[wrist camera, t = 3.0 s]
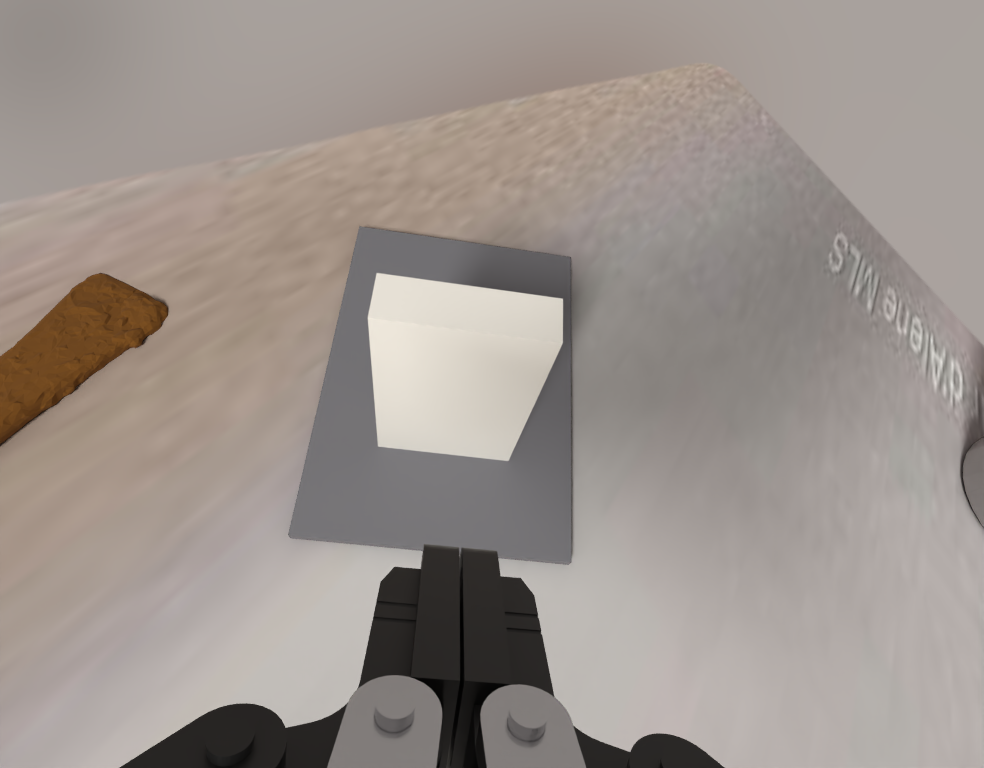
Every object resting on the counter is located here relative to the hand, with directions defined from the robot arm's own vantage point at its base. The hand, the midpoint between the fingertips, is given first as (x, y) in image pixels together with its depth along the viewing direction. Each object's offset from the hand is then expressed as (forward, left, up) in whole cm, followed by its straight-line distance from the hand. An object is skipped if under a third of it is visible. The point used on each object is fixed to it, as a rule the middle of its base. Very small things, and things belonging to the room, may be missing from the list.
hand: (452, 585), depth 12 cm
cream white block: (-6, -9, -17) cm, 20 cm away
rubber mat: (-8, -12, -18) cm, 23 cm away
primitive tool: (+14, -21, -18) cm, 31 cm away
